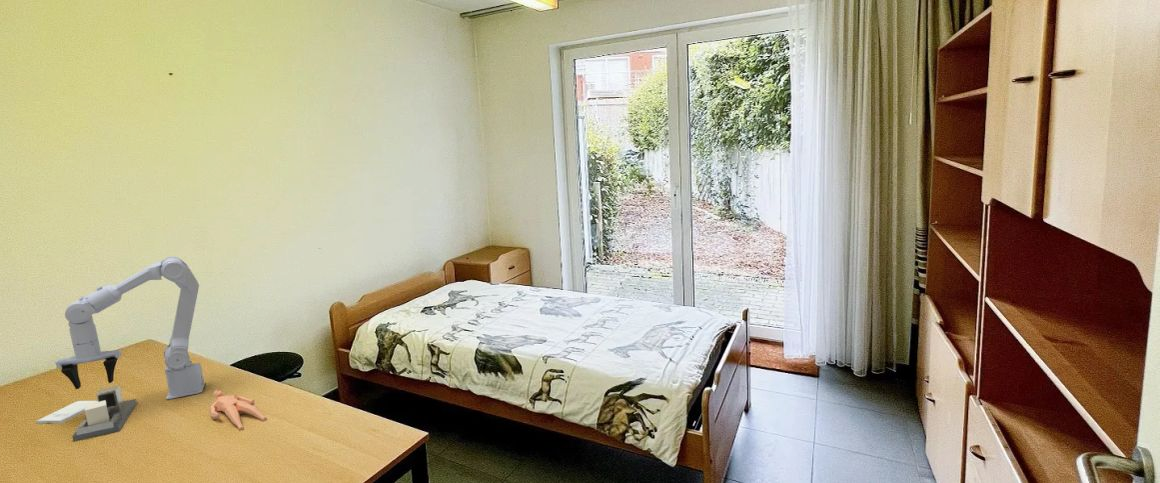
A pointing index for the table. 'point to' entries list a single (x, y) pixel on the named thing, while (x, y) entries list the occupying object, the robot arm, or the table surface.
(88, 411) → the white cube grey lid
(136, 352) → the table surface
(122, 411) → the grey metal base
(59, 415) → the external hard drive
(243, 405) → the male figurine
